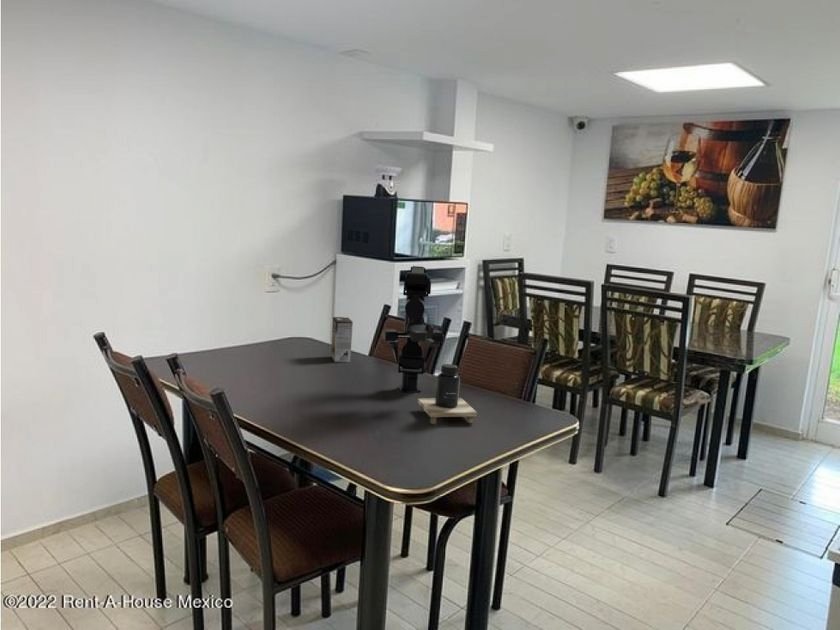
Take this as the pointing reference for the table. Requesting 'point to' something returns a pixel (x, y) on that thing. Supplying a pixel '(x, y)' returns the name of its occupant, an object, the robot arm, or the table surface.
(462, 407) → the small stand
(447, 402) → the supplement bottle
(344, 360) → the coffee box
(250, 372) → the table surface
